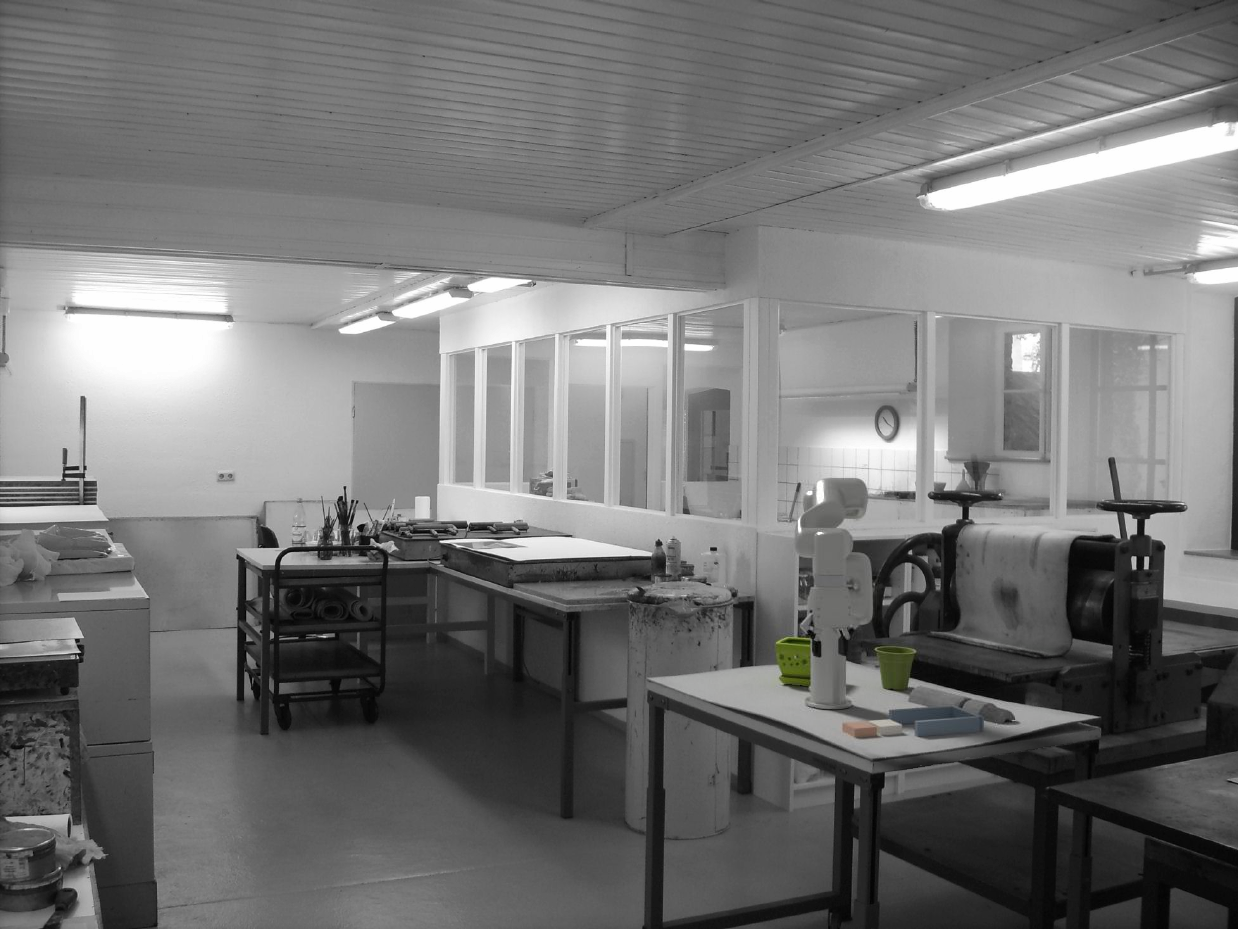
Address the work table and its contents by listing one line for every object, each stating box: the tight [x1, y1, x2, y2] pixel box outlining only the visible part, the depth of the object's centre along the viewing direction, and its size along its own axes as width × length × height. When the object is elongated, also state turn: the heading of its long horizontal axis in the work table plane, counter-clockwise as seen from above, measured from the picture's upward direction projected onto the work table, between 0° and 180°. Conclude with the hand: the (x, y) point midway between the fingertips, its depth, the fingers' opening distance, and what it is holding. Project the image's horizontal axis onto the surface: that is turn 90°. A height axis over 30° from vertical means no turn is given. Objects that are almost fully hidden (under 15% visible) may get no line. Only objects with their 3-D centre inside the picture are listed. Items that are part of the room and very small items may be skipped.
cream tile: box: [867, 718, 903, 736], centre depth 263 cm, size 6×6×2 cm
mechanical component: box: [907, 685, 1016, 725], centre depth 285 cm, size 9×4×30 cm
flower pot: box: [774, 636, 811, 687], centre depth 320 cm, size 14×14×13 cm
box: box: [888, 705, 985, 737], centre depth 267 cm, size 13×19×4 cm
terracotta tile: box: [841, 720, 878, 738], centre depth 261 cm, size 6×6×2 cm
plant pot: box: [874, 645, 917, 691], centre depth 313 cm, size 12×12×11 cm
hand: (829, 655), depth 259 cm, fingers open, 6 cm apart
